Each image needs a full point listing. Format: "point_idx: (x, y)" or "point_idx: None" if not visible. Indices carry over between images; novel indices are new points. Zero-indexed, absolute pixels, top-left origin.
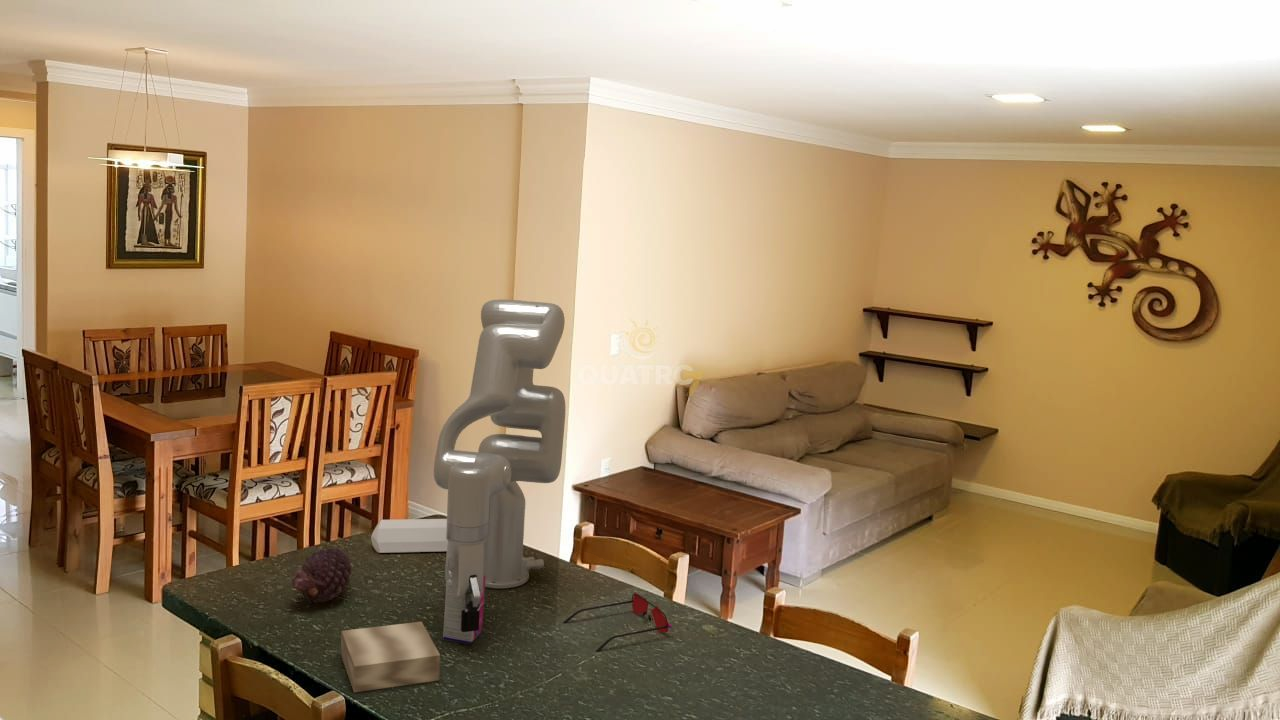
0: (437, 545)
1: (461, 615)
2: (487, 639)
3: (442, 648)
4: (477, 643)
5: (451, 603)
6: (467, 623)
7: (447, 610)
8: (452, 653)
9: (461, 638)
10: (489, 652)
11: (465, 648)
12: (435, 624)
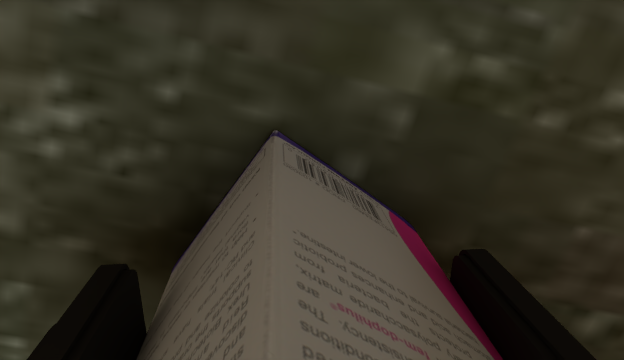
0: None
1: (63, 352)
2: None
3: (160, 101)
4: None
5: (209, 339)
6: (36, 349)
7: (248, 243)
8: (76, 145)
9: (198, 236)
10: None
11: (136, 230)
12: (504, 136)
